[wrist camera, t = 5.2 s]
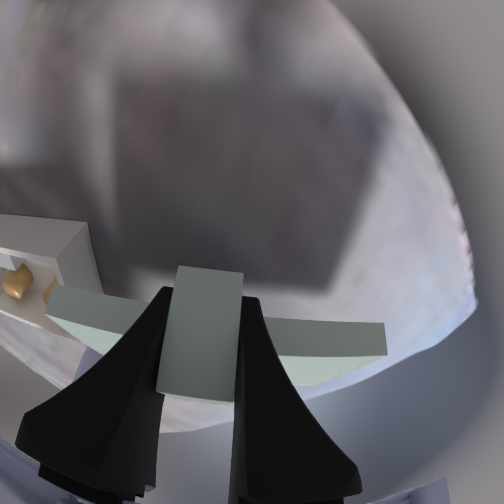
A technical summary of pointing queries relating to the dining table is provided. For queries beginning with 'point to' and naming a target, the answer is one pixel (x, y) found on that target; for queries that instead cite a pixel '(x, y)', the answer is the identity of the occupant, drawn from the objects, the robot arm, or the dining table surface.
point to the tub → (43, 266)
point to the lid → (216, 335)
